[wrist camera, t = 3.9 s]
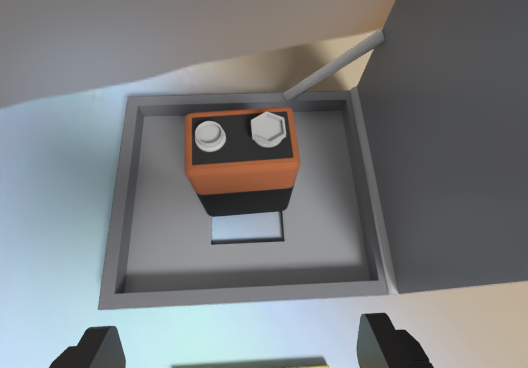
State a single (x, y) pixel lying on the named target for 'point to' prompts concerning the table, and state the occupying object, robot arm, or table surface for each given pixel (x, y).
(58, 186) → the table surface
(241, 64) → the table surface
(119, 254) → the equipment case
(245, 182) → the battery
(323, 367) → the yellow sticky note
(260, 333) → the table surface
